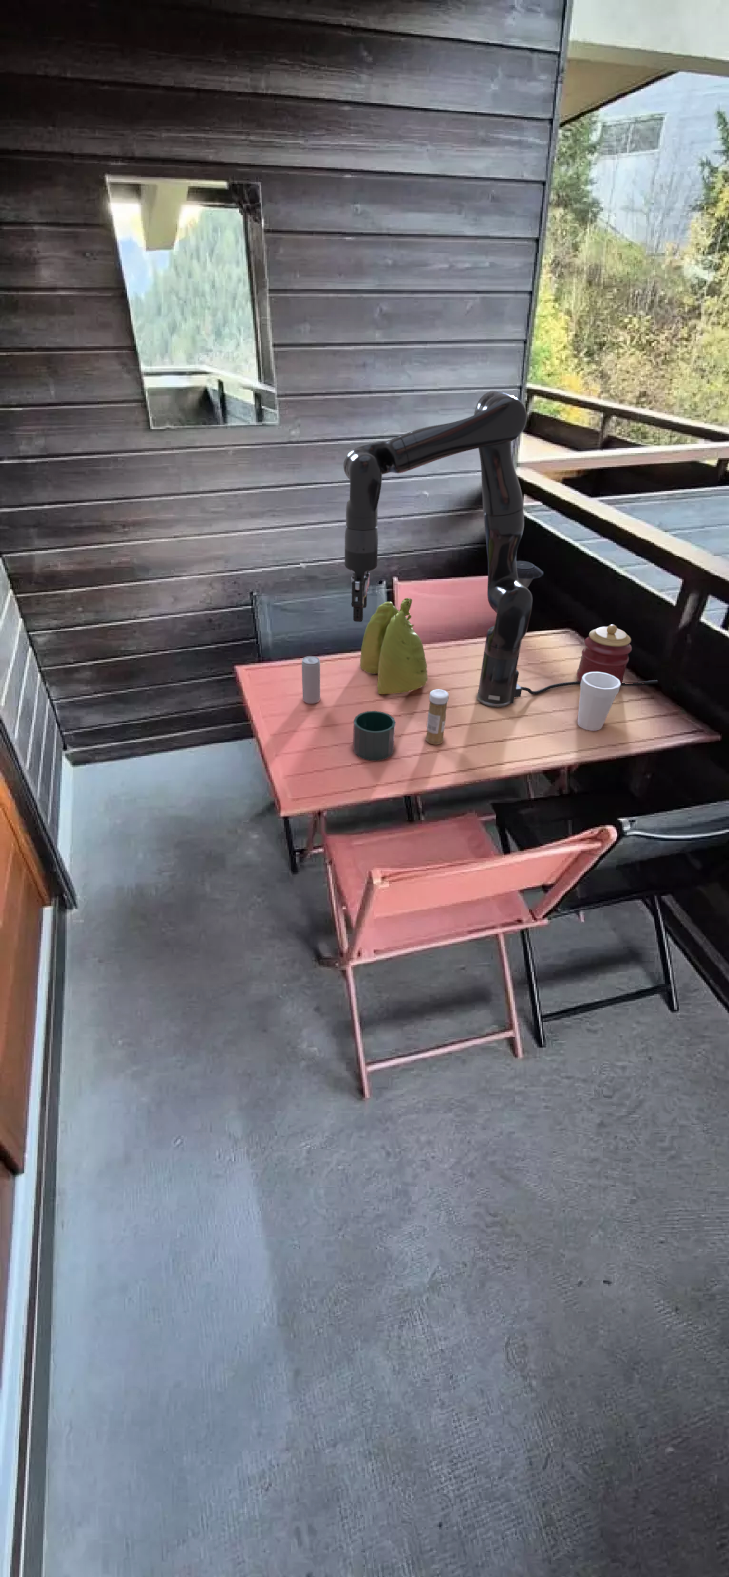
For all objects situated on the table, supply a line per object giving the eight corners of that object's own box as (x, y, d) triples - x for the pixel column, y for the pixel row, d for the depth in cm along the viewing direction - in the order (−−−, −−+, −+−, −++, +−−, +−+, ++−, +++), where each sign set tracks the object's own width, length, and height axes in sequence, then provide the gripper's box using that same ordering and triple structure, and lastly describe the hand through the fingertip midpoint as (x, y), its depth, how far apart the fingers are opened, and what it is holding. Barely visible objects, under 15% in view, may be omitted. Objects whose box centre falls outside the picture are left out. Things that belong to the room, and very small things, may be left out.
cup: (388, 737, 176) (390, 709, 171) (397, 759, 168) (399, 730, 163) (350, 740, 174) (350, 712, 169) (357, 762, 166) (358, 733, 162)
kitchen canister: (626, 679, 205) (642, 623, 195) (613, 697, 196) (630, 639, 186) (583, 667, 211) (597, 612, 200) (569, 684, 202) (582, 627, 191)
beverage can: (306, 706, 187) (306, 665, 180) (299, 698, 190) (298, 657, 183) (323, 702, 189) (323, 662, 182) (315, 694, 192) (315, 654, 185)
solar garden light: (533, 663, 212) (553, 565, 194) (511, 676, 205) (528, 575, 187) (500, 650, 218) (516, 554, 200) (477, 662, 211) (491, 564, 193)
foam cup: (609, 719, 187) (621, 675, 179) (607, 736, 179) (619, 692, 172) (573, 712, 189) (583, 669, 181) (569, 729, 182) (580, 685, 174)
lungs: (434, 694, 194) (443, 612, 180) (382, 702, 190) (386, 618, 176) (402, 655, 213) (408, 578, 199) (354, 661, 209) (356, 582, 194)
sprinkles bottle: (447, 742, 175) (452, 694, 167) (432, 747, 173) (437, 699, 165) (435, 733, 178) (440, 686, 170) (421, 738, 176) (426, 691, 168)
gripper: (374, 557, 153) (372, 627, 163) (380, 537, 164) (378, 603, 174) (340, 555, 153) (340, 625, 163) (348, 535, 165) (348, 601, 175)
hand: (360, 614), depth 169 cm, fingers open, 8 cm apart
